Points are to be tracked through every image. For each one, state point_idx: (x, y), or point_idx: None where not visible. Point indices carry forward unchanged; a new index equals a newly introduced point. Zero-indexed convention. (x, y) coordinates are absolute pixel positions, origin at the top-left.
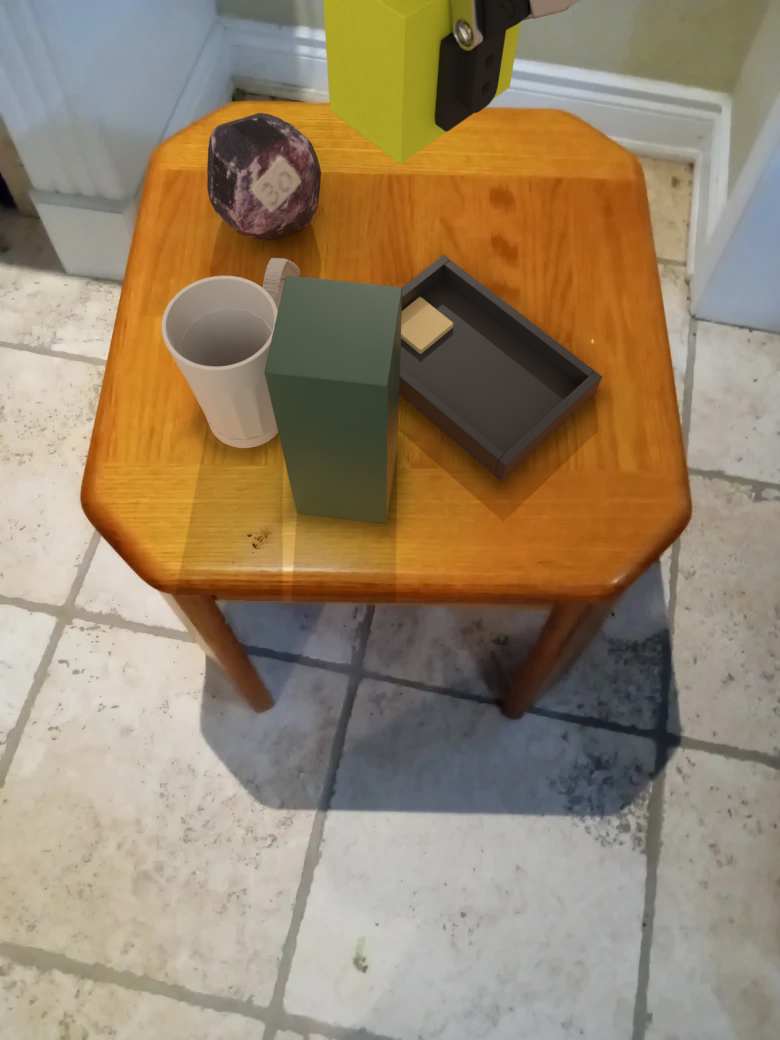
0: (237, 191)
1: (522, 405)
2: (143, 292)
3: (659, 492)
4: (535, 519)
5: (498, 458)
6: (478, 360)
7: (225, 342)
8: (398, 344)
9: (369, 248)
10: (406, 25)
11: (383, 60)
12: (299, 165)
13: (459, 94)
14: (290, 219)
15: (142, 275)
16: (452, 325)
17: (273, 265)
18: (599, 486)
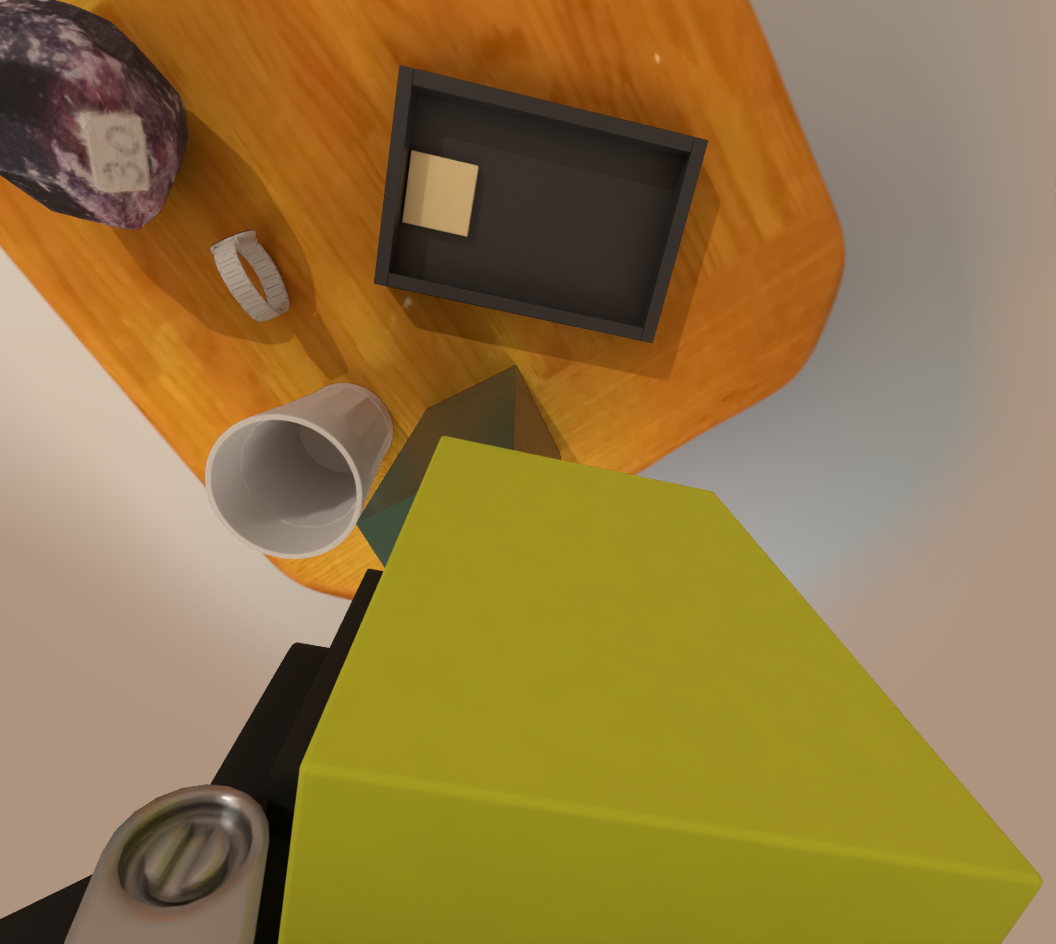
0: (83, 202)
1: (621, 230)
2: (113, 357)
3: (818, 241)
4: (698, 357)
5: (639, 338)
6: (537, 198)
7: (278, 423)
8: (529, 453)
9: (288, 97)
10: None
11: None
12: (114, 98)
13: None
14: (174, 165)
15: (88, 336)
16: (478, 168)
17: (228, 272)
18: (749, 276)
